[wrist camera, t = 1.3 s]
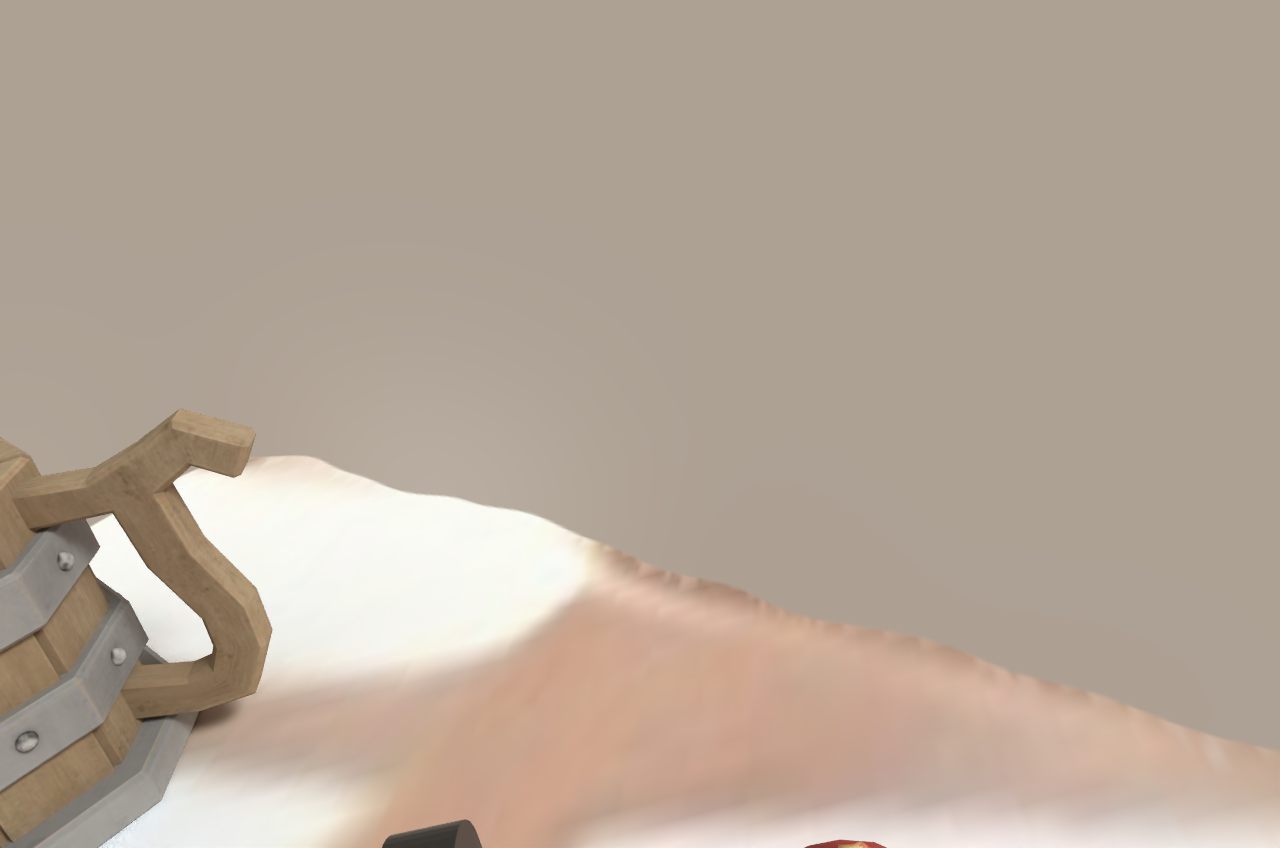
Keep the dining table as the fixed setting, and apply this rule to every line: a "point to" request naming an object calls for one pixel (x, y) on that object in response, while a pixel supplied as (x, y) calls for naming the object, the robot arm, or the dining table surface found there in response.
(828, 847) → the red squash
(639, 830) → the dining table surface
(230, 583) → the tankard
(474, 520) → the dining table surface
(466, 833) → the robot arm
